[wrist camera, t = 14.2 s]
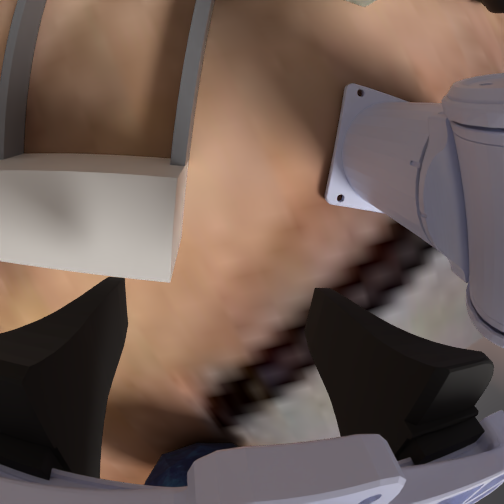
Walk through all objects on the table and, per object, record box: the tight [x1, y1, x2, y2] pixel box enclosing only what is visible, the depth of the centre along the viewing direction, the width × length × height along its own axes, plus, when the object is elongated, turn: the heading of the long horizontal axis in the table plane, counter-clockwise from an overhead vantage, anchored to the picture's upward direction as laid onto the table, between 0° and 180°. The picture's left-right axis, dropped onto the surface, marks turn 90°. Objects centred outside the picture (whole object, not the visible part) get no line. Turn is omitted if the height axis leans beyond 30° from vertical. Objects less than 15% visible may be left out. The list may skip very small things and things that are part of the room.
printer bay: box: [0, 0, 215, 283], centre depth 14 cm, size 13×16×6 cm
